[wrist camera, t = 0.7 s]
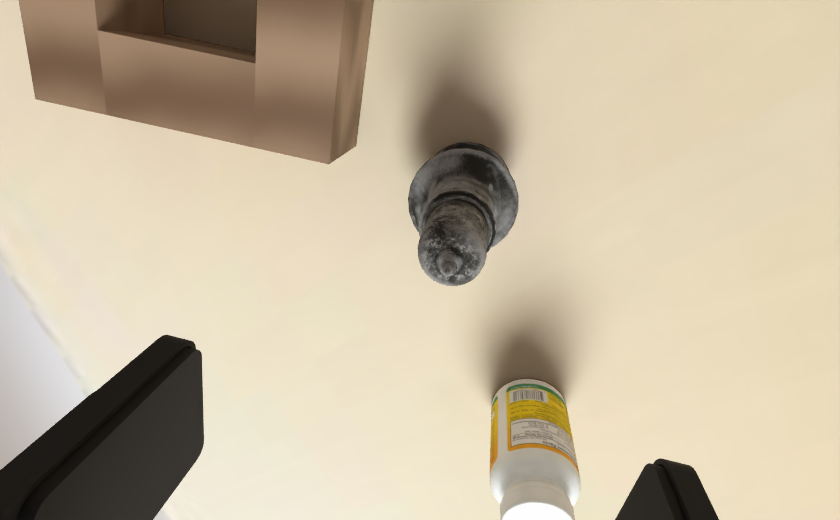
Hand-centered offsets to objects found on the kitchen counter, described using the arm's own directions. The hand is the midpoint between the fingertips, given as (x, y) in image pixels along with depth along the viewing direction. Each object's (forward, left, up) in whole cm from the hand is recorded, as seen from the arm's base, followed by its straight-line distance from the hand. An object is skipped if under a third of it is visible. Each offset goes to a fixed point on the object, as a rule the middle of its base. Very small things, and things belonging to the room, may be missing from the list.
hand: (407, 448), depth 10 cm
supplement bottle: (+15, +8, -21) cm, 27 cm away
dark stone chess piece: (0, 0, -21) cm, 21 cm away
